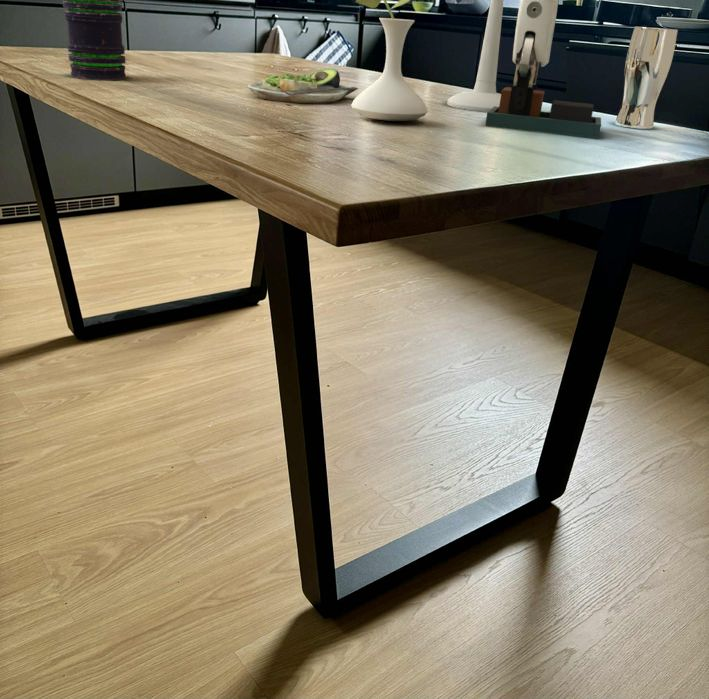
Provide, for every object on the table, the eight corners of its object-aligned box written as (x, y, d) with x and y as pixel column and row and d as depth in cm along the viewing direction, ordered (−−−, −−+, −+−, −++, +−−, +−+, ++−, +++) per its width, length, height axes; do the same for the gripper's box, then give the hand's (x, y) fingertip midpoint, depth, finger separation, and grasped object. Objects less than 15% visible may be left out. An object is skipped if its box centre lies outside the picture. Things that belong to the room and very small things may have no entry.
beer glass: (656, 131, 116) (680, 30, 109) (611, 126, 118) (633, 26, 111) (654, 125, 122) (677, 29, 115) (612, 121, 124) (632, 26, 117)
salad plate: (338, 109, 114) (339, 78, 112) (231, 99, 116) (231, 68, 114) (361, 97, 131) (363, 70, 129) (268, 88, 134) (268, 61, 132)
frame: (598, 130, 112) (601, 117, 111) (598, 138, 105) (601, 124, 104) (492, 119, 116) (494, 106, 115) (485, 126, 108) (487, 112, 108)
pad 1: (540, 114, 112) (544, 90, 110) (538, 118, 108) (542, 93, 106) (502, 110, 113) (505, 87, 112) (498, 114, 109) (501, 89, 107)
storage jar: (83, 80, 126) (74, -15, 119) (61, 73, 132) (51, -17, 126) (136, 79, 132) (130, -11, 125) (113, 73, 138) (106, -13, 132)
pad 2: (588, 128, 111) (593, 104, 109) (588, 132, 106) (593, 107, 105) (549, 123, 112) (553, 100, 110) (547, 127, 108) (551, 103, 106)
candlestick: (444, 108, 125) (468, -93, 112) (449, 99, 136) (470, -84, 123) (519, 114, 123) (551, -89, 110) (517, 106, 134) (546, -79, 121)
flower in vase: (439, 121, 109) (461, -67, 98) (401, 129, 100) (420, -77, 90) (368, 110, 115) (381, -68, 104) (326, 116, 107) (335, -78, 96)
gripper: (566, -21, 94) (540, 122, 102) (570, -16, 109) (548, 109, 117) (508, -25, 96) (488, 116, 104) (520, -19, 111) (502, 104, 119)
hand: (520, 111), depth 110 cm, fingers closed on pad 1, 4 cm apart
